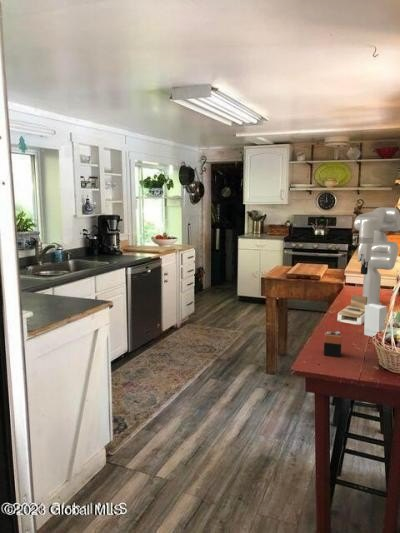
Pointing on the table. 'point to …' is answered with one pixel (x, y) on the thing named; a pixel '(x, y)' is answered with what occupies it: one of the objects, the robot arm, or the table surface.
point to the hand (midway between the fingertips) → (364, 273)
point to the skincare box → (374, 319)
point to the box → (351, 319)
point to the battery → (332, 344)
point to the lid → (355, 307)
